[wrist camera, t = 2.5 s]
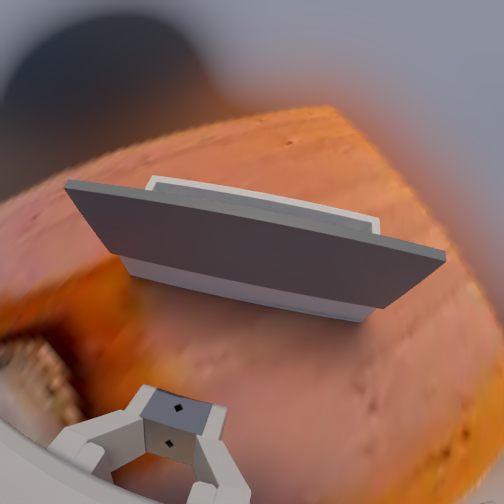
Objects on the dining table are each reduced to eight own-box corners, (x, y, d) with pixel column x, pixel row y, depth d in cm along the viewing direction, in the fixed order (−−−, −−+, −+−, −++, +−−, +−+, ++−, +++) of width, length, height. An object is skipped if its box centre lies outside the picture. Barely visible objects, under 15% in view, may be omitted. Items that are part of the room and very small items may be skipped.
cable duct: (130, 274, 35) (114, 248, 30) (160, 205, 41) (152, 175, 35) (360, 322, 33) (382, 303, 28) (362, 245, 39) (379, 218, 34)
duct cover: (113, 246, 29) (110, 253, 29) (68, 179, 20) (63, 187, 19) (383, 301, 28) (383, 309, 27) (445, 251, 18) (446, 261, 18)
